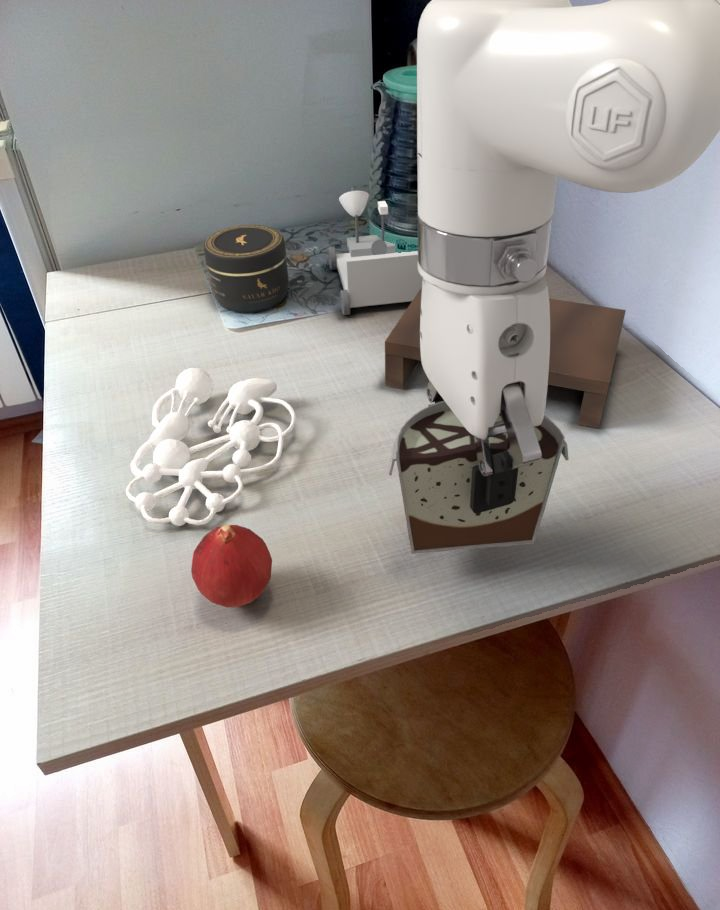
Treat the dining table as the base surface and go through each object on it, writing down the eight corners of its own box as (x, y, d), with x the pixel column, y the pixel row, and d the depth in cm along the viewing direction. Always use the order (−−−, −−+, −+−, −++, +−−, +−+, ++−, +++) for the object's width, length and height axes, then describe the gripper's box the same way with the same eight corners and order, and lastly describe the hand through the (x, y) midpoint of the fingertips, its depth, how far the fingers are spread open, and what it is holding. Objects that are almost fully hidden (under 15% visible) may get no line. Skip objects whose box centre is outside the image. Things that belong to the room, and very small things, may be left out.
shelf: (615, 354, 78) (625, 309, 75) (598, 429, 68) (609, 382, 65) (425, 321, 85) (426, 279, 81) (385, 386, 75) (384, 341, 71)
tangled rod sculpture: (250, 552, 59) (247, 520, 56) (90, 520, 61) (79, 488, 58) (309, 409, 73) (309, 377, 70) (177, 386, 75) (172, 354, 72)
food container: (533, 487, 58) (547, 385, 52) (554, 541, 53) (572, 436, 47) (384, 500, 58) (379, 399, 52) (391, 555, 53) (388, 451, 47)
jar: (230, 324, 86) (220, 265, 81) (201, 291, 92) (190, 235, 87) (303, 301, 89) (298, 244, 84) (271, 271, 96) (264, 216, 91)
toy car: (321, 185, 93) (408, 177, 94) (326, 255, 99) (407, 247, 100) (339, 242, 79) (440, 232, 80) (344, 319, 86) (437, 309, 87)
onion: (187, 616, 53) (164, 545, 48) (223, 561, 57) (206, 490, 52) (256, 638, 52) (240, 567, 46) (289, 579, 56) (278, 507, 50)
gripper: (628, 294, 35) (577, 540, 47) (476, 184, 48) (465, 398, 59) (491, 325, 34) (473, 571, 45) (372, 203, 46) (381, 419, 58)
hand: (469, 471), depth 52 cm, fingers closed on food container, 6 cm apart
